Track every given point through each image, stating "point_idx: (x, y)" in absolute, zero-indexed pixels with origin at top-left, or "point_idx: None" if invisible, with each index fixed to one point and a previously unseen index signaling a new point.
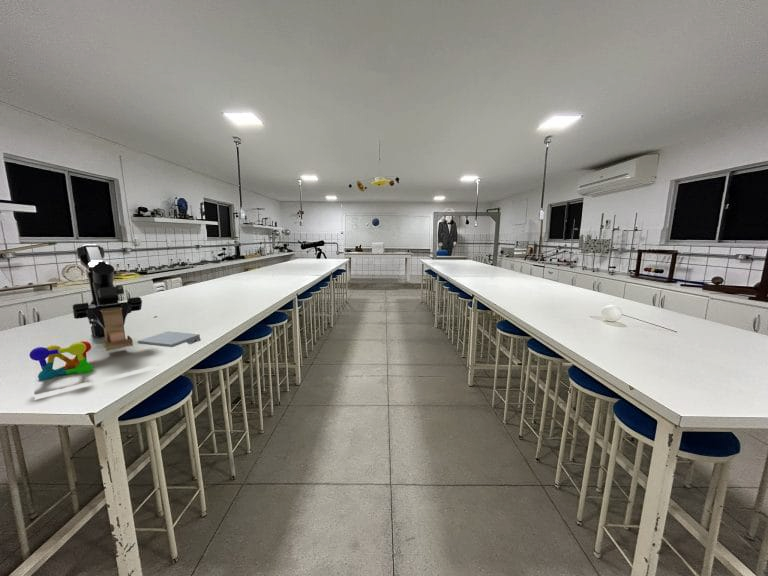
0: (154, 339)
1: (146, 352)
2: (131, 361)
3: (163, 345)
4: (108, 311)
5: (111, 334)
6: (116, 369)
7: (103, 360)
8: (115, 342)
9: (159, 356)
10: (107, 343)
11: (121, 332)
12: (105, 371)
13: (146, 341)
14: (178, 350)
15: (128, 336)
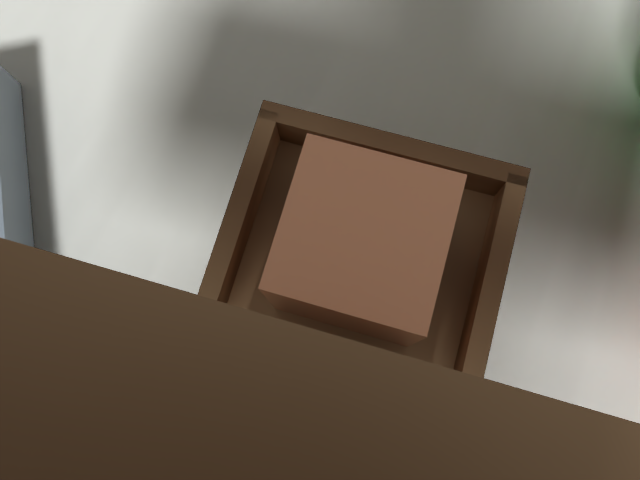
0: None
1: (164, 216)
2: (355, 92)
3: (10, 167)
4: (445, 377)
5: (441, 217)
6: (500, 14)
7: None
8: (430, 145)
9: (182, 7)
10: (509, 170)
11: (309, 201)
12: (563, 43)
13: None
14: (18, 10)
15: (219, 266)
